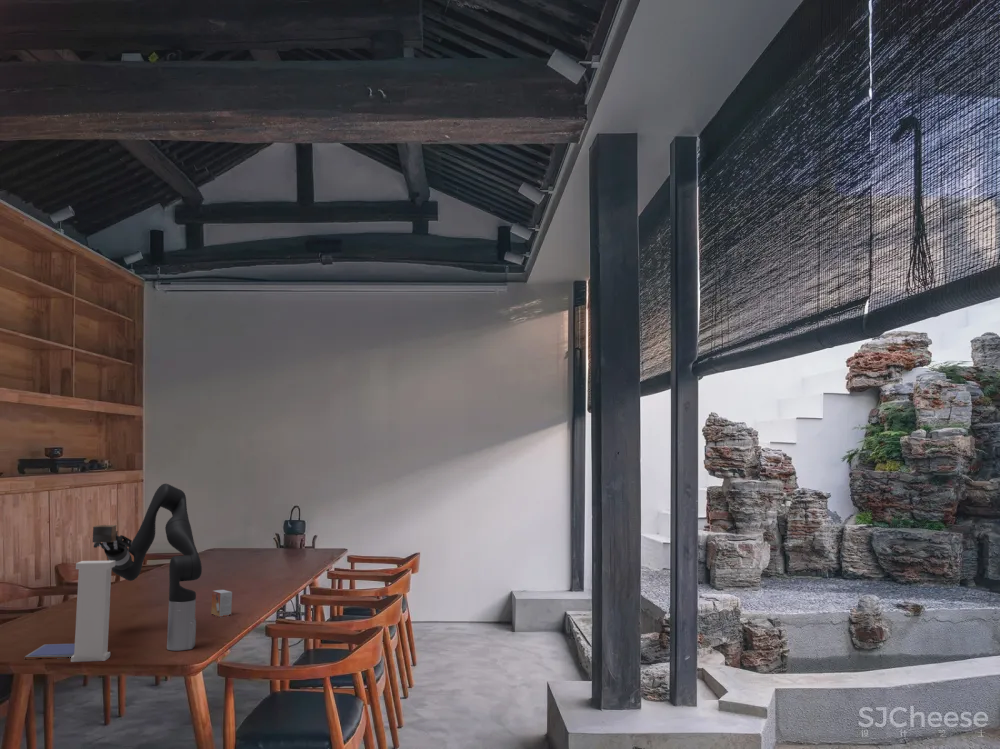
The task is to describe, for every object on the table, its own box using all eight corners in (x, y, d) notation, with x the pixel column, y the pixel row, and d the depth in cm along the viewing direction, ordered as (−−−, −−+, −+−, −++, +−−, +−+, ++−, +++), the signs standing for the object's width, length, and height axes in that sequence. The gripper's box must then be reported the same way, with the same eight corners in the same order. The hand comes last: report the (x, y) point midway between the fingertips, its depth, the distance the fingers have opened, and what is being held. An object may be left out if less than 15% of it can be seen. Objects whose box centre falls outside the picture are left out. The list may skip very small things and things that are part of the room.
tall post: (110, 656, 291) (115, 560, 294) (105, 660, 284) (109, 562, 287) (77, 657, 289) (82, 560, 292) (70, 661, 282) (75, 563, 285)
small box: (210, 615, 364) (211, 590, 365) (222, 613, 368) (223, 589, 369) (219, 617, 358) (220, 592, 359) (231, 616, 362) (232, 591, 363)
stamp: (122, 537, 311) (123, 522, 311) (111, 542, 296) (111, 526, 297) (104, 538, 310) (105, 522, 310) (91, 542, 295) (92, 526, 296)
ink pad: (90, 645, 305) (91, 642, 306) (74, 657, 288) (74, 654, 288) (44, 647, 303) (44, 644, 303) (24, 659, 285) (24, 656, 285)
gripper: (99, 543, 317) (88, 524, 303) (138, 542, 319) (129, 523, 305) (95, 561, 313) (84, 543, 299) (135, 561, 315) (125, 542, 301)
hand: (107, 533), depth 302 cm, fingers closed on stamp, 2 cm apart
